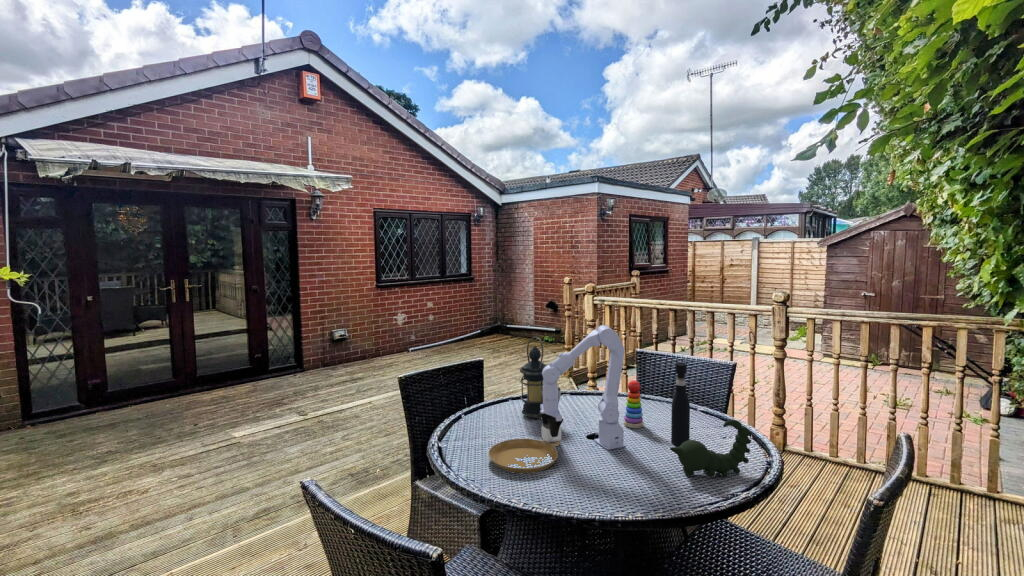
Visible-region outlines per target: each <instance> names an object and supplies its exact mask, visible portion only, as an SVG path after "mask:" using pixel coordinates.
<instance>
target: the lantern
mask: <svg viewBox="0 0 1024 576" xmlns="http://www.w3.org/2000/svg"><path fill="white" fill-rule="evenodd" d="M534 339H538V340H539V343H540V346H541V351H540V349H539V348H538V347H537V346H536V345H535V346H533V347H532V348H531V349H530V350H529V348H530V347H529V346H530V343H531V341H532V340H534ZM526 345H527V346H526V356H527V363H525V364H524V365H523V366H521V367H520V369H519V373H521V374H522V376H521V379H520V381H519V382H520V383H521V396H520V400H521V401H522V402H524V403H523V405H522V406H523V407H522V411H521V413H522V415H524V416H526V417H527V418H533V419H539V418H540V419H541V417H540V415H539V412H540V410H541V409H540V404H543V400H542V393H541V389H542V388H543V376H542V371H543V369H544V367H546V366H548V365H547V364H545V363H544V362H543V359H544V346H543V345H544V344H543V342H542V339H541V338H540V337H538V336H533V337H531V338H530V339H528V342H527V344H526ZM524 381H526V382H527V383H525V382H524ZM524 385H525V386H526V389H527V391H526V393H525V394H524V391H523V390H524V387H523V386H524ZM524 397H527V398H526V399H524Z"/></svg>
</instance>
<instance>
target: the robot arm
mask: <svg viewBox="0 0 1024 576" xmlns="http://www.w3.org/2000/svg"><path fill="white" fill-rule="evenodd" d="M601 344H602V345H603V346H605V347H607V349H608V350H609V352H610V353H609V360H608V366H607V372H606V378H605V386H604V391H603V393H602V395H601V400H600V401H599V403H598V406H597V409H598V411H599V413H600V415H599V417H598V438H594V439H593V440H594V442H595V443H597V444H599V445H600V446H601V447H603V448H604V449H606V450H608V451H609V450H613V449H619V448H623V447H626V444H625V443H624V440H625V439H624V438H625V435H624V432H625V431H624V428H623V426H621V424H620V422H619V419H620V411H619V399H618V396H619V389H620V384H621V378H622V371H623V365H624V359H625V353H626V351H625V347H624V345H623V342H622V340H621V338H620V335H619V334H618V333H616V331H615V330H614V329H612V328H611V327H610V326H609V325H607V324H602V325H599V326H598V327H596V329H593V330H592V331H591V332H590V333H588V334H587V335H586V337H584V338H583V339H582V340H581V341H580V342H579V343H578V344H577V345H576V346H574V347H573V348H572V350H570V351H569V352H565V351H564V352H563V353H561V352H560V353H559V354H558V357H557V358H556V359H555V360H553V361H552V362H551V361H550V362H549V363H548V365H547V366H546V367H544V369H543V371H542V376H543V404H540V409H541V410H540V412H539V415H540V419H541V421H542V424H546V423H549V425H550V429H551V436H552V437H557V436H558V432H559V428H560V427H561V425H562V424H563V422H564V418H563V415H562V414H561V412H560V409H559V403H558V387H559V385H558V381H559V380H560V376H562V375H564V373H566V372H568V370H569V369H570V368H572V367H573V366H575V362H576V359H577V358H578V357H580V356H581V355H582V354H584V353H586V352H587V350H590V348H592V347H601Z"/></svg>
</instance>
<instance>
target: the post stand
mask: <svg viewBox="0 0 1024 576" xmlns="http://www.w3.org/2000/svg"><path fill="white" fill-rule="evenodd" d="M541 441H543V442H546V443H549V444H551V445H552V446H554V447H555V448H557V447H556V446H558V447H560V446H561V440H559V441H554V442H547V441H545V440H544V439H543V438H542V440H541ZM559 445H560V446H559Z"/></svg>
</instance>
